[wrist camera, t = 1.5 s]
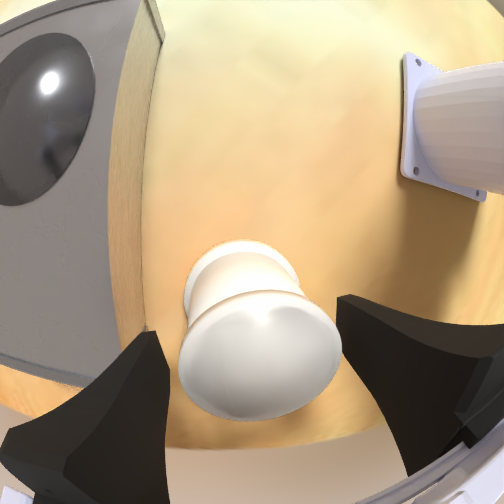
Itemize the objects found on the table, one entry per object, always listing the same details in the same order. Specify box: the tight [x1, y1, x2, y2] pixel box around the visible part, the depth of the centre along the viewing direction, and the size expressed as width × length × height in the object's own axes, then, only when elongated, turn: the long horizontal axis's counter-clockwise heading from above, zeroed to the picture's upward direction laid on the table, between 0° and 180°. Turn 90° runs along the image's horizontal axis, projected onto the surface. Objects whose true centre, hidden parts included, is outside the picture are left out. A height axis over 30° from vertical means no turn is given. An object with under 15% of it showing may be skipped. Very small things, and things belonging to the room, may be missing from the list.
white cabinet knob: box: [178, 239, 342, 421], centre depth 11 cm, size 6×6×6 cm
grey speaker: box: [0, 0, 165, 388], centre depth 9 cm, size 8×16×5 cm, turn 175°
